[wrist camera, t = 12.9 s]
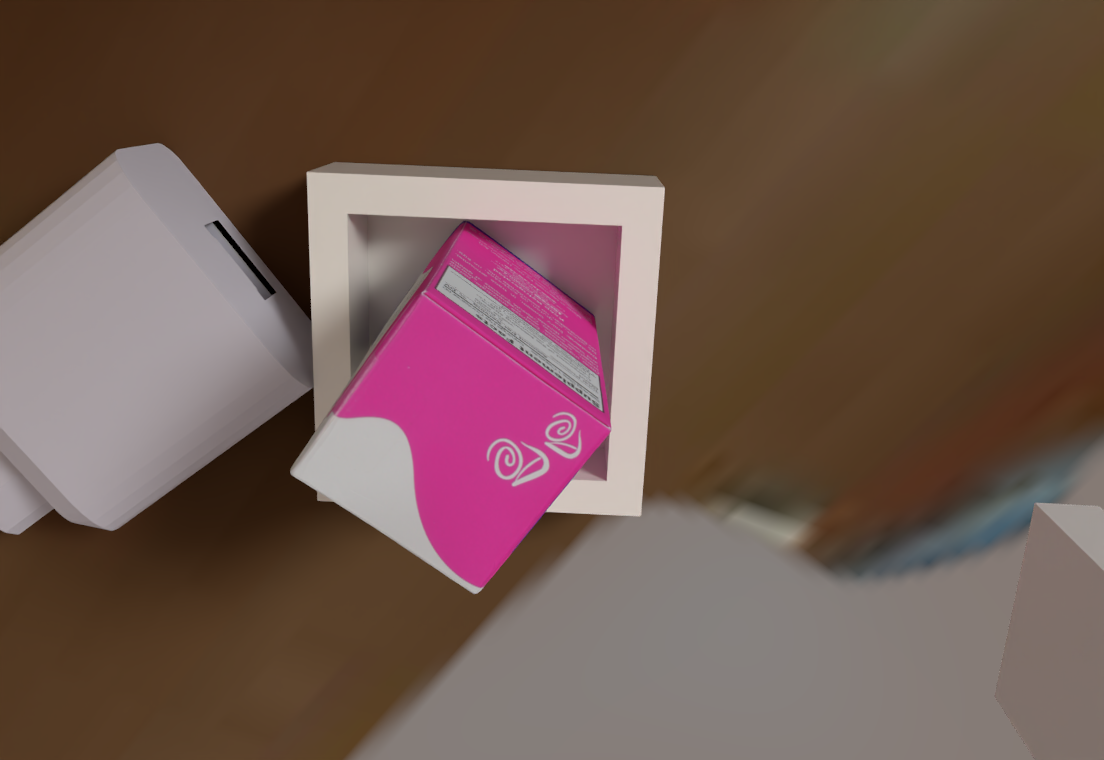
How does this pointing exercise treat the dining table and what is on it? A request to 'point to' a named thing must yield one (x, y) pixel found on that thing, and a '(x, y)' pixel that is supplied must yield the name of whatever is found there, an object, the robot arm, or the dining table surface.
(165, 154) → the charger
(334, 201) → the white shadow box frame
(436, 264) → the supplement box
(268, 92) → the dining table surface
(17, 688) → the dining table surface
